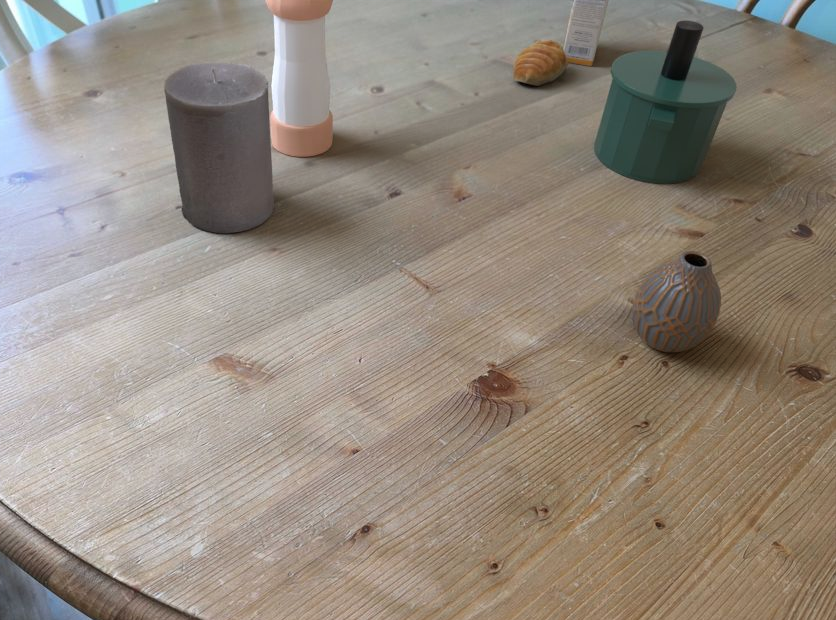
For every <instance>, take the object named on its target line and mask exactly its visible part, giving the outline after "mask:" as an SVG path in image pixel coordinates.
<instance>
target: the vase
mask: <svg viewBox="0 0 836 620" xmlns="http://www.w3.org/2000/svg"><path fill="white" fill-rule="evenodd" d="M712 265H713V264H712V260H711V258H709V257H708V256H707V255H706V254H704V253H702V252H700V251H696V250H687V251H684V252H682V253H681V254H680V255H679V256H678V257H676V258H675V259H673V260H670V261H668V262H666V263H664V264H661V265H660V266H658V267H656V268H655V269H654V270H652V271H651V272H650V273H649V274H648V275H647V276H646V278H644V279H643V281H642V282H641V284H640V285H639V287H638V289H637V291H636V294H635V296H634V299H633V302H632V309H631V316H632V323H633V324H632V325H633V327H634V329H635V331H636V333H637V335H638V337H639V338H640V339H641V340H642V341H643V343H645V344H646V345H647V346H649V347H651V348H652V349H654V350H656V351H659V352H664V353H679V352H685V351H688V350H690V349H693V348H695V347H696V346H698V345H699V344H700V343H701V342H703V341H704V340H706V338H707V337H708V336H709V334H710V333H711V332H712V330H713V329H714V327H715V325H716V323H717V321H718V319H719V317H720V312H721V307H722V294H721V293H722V292H721V288H720V285H719V284H718V280H717V278H716V276H715V274H714V272H713V267H712Z"/></svg>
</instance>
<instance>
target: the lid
mask: <svg viewBox="0 0 836 620" xmlns="http://www.w3.org/2000/svg"><path fill="white" fill-rule="evenodd" d="M703 31H704V26H703V24H701V23H699V22H697V21H693V20H679V21H677V22H676V25H675V27H674V30H673V33H672V37H671V39H670V43H669V46H668V48H667V50H638V51H637V50H636V51H631V52H627V53H624V54H622V55H620V56H618V57H617V58H615V60H613V62H612V64H611V68H610V75H611V78H612V79H614V81H615V82H616V83H617V84H618V85H619V86H620V87H622V88H623V89H625V90H626V91H628V92H630V93H632V94H634V95H636V96H638V97H640V98H643V99H646V100H649V101H652V102H655V103H659V104H664V105H668V106H674V107H682V108H708V107H715V106H719V105H722V104H724V103H726V102H727V103H728V102H730V101H731V100H732V99H733V98H734V96H735V94H736V92H737V82H736V80H735V78H734V77H733V76H732V75H731V74H730V73H729V72H727V71H726V70H725V69H723V68H721V67H720V66H718V65H716V64H714V63H712V62H710V61H708V60H705V59H702V58H699V57H696V56H695V54H696V51H697V48H698V46H699V42H700V40H701V37H702V34H703Z"/></svg>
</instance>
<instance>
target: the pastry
mask: <svg viewBox="0 0 836 620" xmlns="http://www.w3.org/2000/svg"><path fill="white" fill-rule="evenodd" d="M563 49H564V46H562V45H561V44H560V43H559V42H557V41H555V40H552V39H545V40H540V39H539V40H538V39H537V41H536V42H534V43H531V45H530V46H527V47H526V48H525V49H523V50H522V51H521V52H520V53H519V54H518V55H517V56H516V58H515V60H514V66H513V67H514V68H513V72H512V78H513V80H514V82H520V83H523V84H528V85H532V86H536V87H538V86H542V85H545V84H549V83H551V82H553V81H555V80H556V79H558V78H559V77H560V76H561V75H563V72H564V71H565V70H566V69H567V67H568V66H569V63H568V61H567V59H566V54H565V53H564V50H563Z"/></svg>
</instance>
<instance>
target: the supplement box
mask: <svg viewBox="0 0 836 620" xmlns="http://www.w3.org/2000/svg"><path fill="white" fill-rule="evenodd" d="M609 1H610V0H573V1H572V6H571V10H570V14H569V18H568V25H567V29H566V33H565V34H566V35H565V39H564V44H563V50H564V53H565V54H566V59H567V61H568V64H575V65H576V64H577V65H582V66H589V67H592V66H593V64H594V61H595V56H596V52H597V49H598V45H599V41H600V37H601V32H602V28H603V24H604V20H605V17H606V13H607V8H608V4H609Z"/></svg>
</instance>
